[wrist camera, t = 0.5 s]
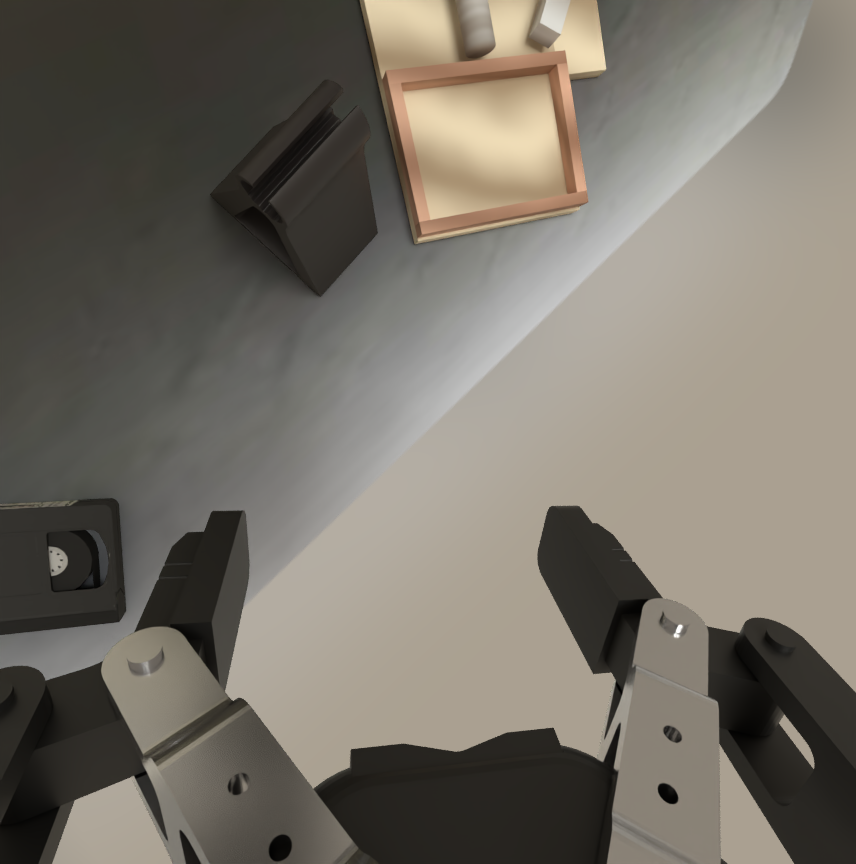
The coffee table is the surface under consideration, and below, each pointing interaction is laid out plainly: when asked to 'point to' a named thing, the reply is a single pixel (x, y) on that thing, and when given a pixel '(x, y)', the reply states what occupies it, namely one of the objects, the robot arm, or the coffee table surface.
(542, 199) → the stand
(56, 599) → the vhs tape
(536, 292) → the coffee table surface
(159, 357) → the coffee table surface
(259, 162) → the phone stand
